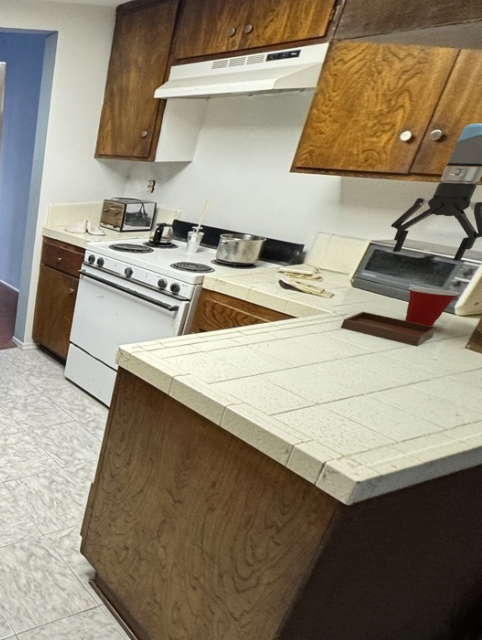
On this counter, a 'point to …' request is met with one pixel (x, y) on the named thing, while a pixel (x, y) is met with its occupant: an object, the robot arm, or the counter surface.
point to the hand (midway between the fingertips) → (425, 255)
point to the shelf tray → (389, 328)
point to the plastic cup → (427, 304)
